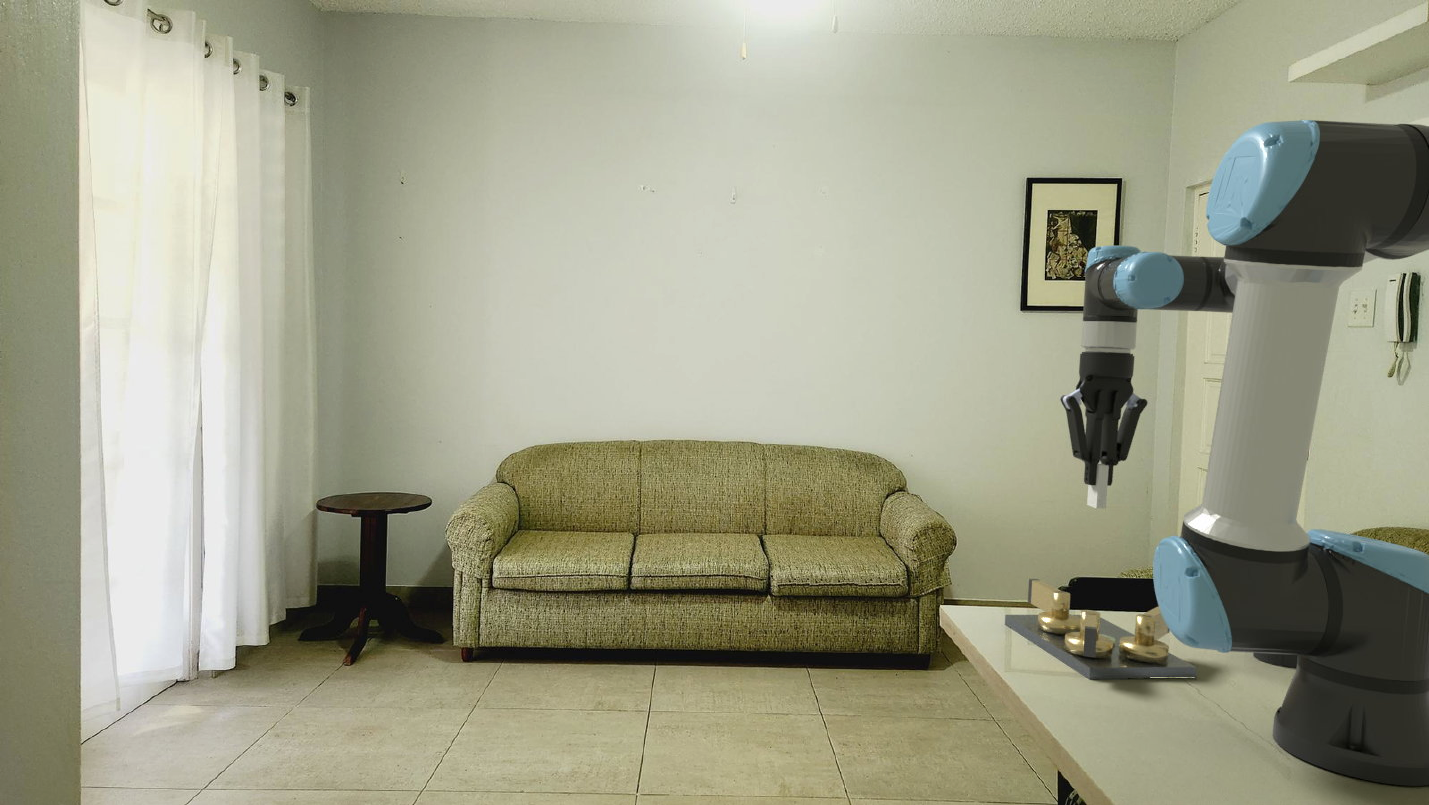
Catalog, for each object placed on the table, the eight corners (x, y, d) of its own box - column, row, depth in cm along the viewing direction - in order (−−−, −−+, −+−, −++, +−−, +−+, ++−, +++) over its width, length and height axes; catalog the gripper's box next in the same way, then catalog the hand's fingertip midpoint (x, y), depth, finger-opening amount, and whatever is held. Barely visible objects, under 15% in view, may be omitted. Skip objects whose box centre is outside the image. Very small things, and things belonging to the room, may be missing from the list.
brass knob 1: (1089, 634, 132) (1091, 598, 132) (1050, 634, 131) (1052, 598, 131) (1049, 612, 144) (1051, 579, 143) (1013, 611, 143) (1015, 578, 142)
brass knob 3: (1159, 665, 119) (1162, 626, 119) (1112, 654, 123) (1114, 615, 123) (1186, 647, 128) (1188, 610, 128) (1141, 637, 132) (1143, 601, 132)
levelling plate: (1195, 678, 120) (1197, 660, 120) (1089, 679, 118) (1090, 660, 118) (1095, 624, 144) (1096, 609, 144) (1004, 624, 142) (1005, 609, 142)
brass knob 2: (1064, 641, 129) (1067, 604, 128) (1111, 647, 126) (1113, 610, 126) (1063, 665, 118) (1065, 625, 118) (1114, 673, 116) (1116, 632, 115)
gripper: (1133, 352, 142) (1122, 503, 144) (1054, 348, 141) (1043, 501, 142) (1163, 353, 135) (1151, 512, 137) (1079, 349, 133) (1068, 510, 135)
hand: (1096, 506), depth 140 cm, fingers closed
